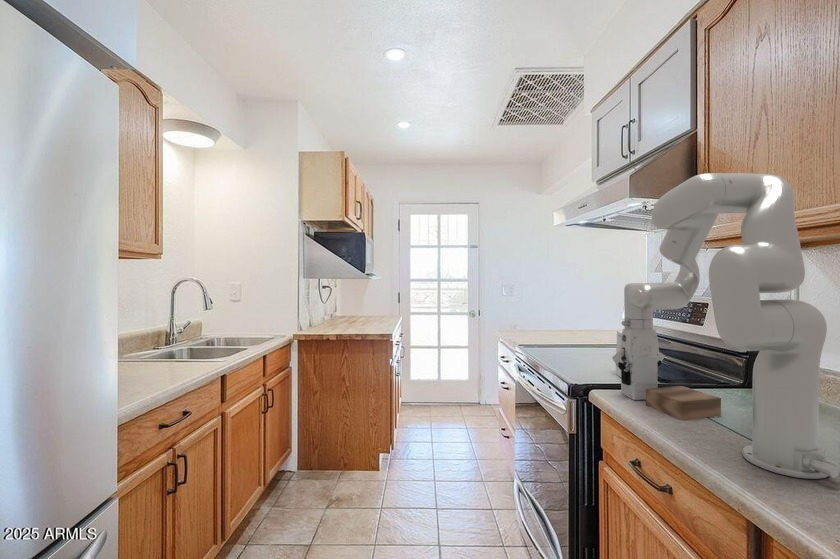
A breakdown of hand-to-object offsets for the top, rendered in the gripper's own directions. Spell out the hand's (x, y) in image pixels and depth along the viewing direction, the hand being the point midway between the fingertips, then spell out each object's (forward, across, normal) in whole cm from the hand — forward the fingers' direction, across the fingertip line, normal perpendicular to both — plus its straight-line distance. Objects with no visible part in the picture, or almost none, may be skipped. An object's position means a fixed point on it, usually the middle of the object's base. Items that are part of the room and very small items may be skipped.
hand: (638, 383), depth 123 cm
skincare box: (+4, +10, +16) cm, 20 cm away
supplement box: (+4, 0, 0) cm, 4 cm away
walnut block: (+5, +2, -13) cm, 14 cm away
